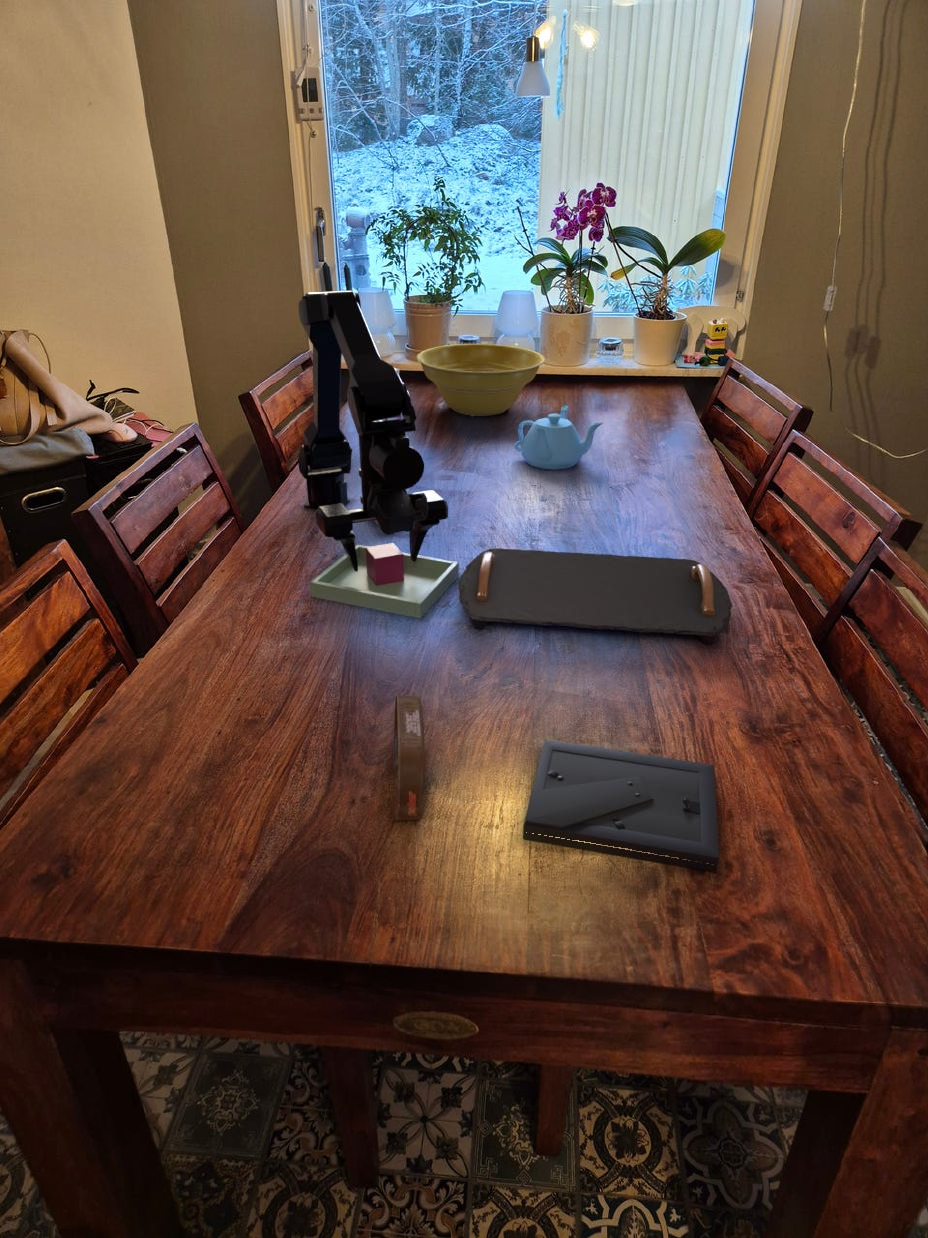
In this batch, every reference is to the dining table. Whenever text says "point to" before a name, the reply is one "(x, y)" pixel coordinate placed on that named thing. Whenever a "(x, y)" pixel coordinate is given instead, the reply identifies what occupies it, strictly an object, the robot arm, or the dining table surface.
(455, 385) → the planter bowl
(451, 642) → the dining table surface
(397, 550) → the mulberry block
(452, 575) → the green tray
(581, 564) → the serving tray
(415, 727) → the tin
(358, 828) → the dining table surface
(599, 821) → the picture frame
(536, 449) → the teapot
